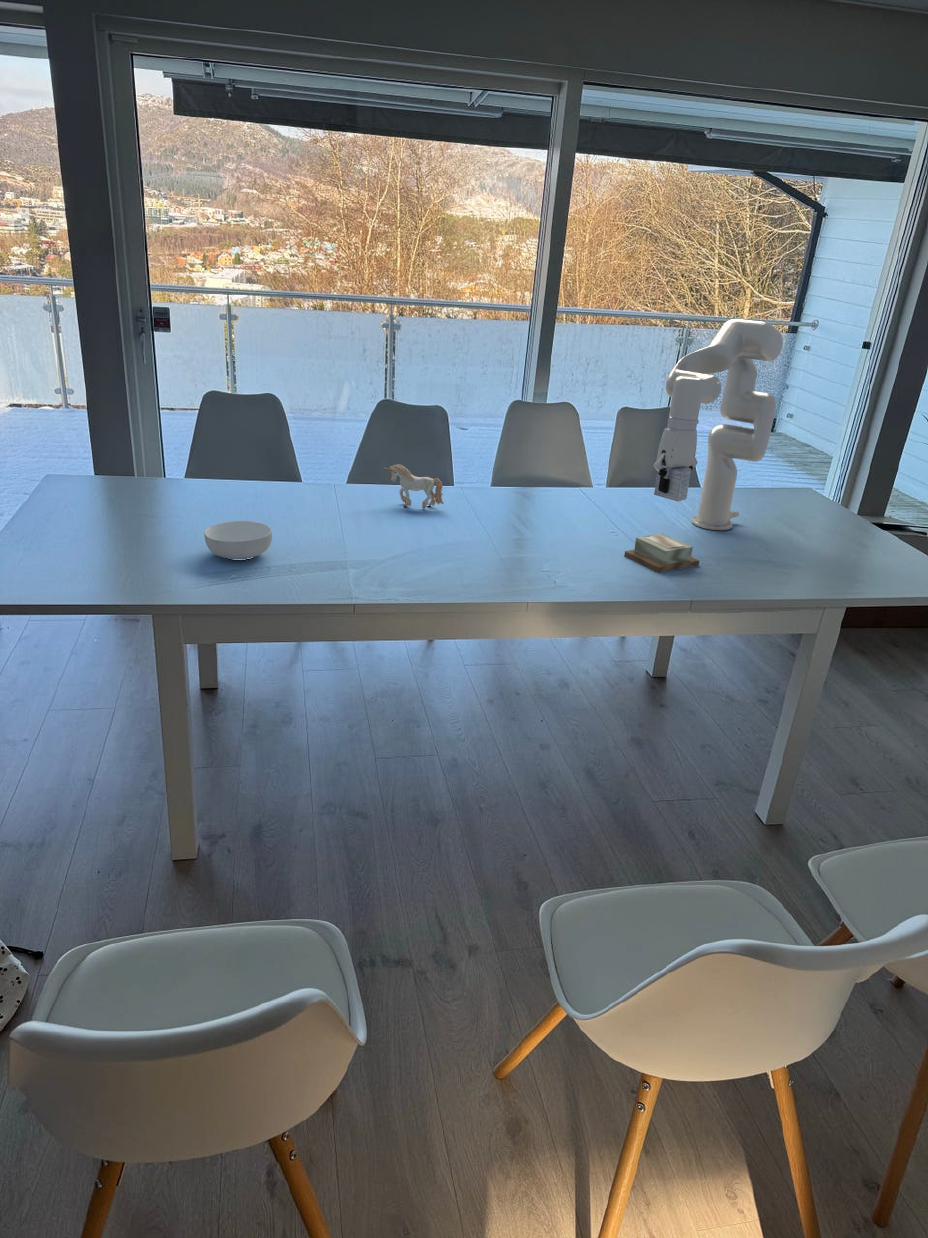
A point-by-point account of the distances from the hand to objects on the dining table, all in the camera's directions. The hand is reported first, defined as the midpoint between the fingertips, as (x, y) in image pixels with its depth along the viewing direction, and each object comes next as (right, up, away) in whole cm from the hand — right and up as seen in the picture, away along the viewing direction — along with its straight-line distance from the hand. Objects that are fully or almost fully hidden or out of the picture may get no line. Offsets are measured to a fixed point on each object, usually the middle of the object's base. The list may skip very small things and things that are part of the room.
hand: (671, 490), depth 241 cm
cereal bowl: (-115, -19, -10) cm, 117 cm away
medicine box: (0, -2, +1) cm, 2 cm away
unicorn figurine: (-73, -1, +36) cm, 81 cm away
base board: (-1, -19, +7) cm, 20 cm away
